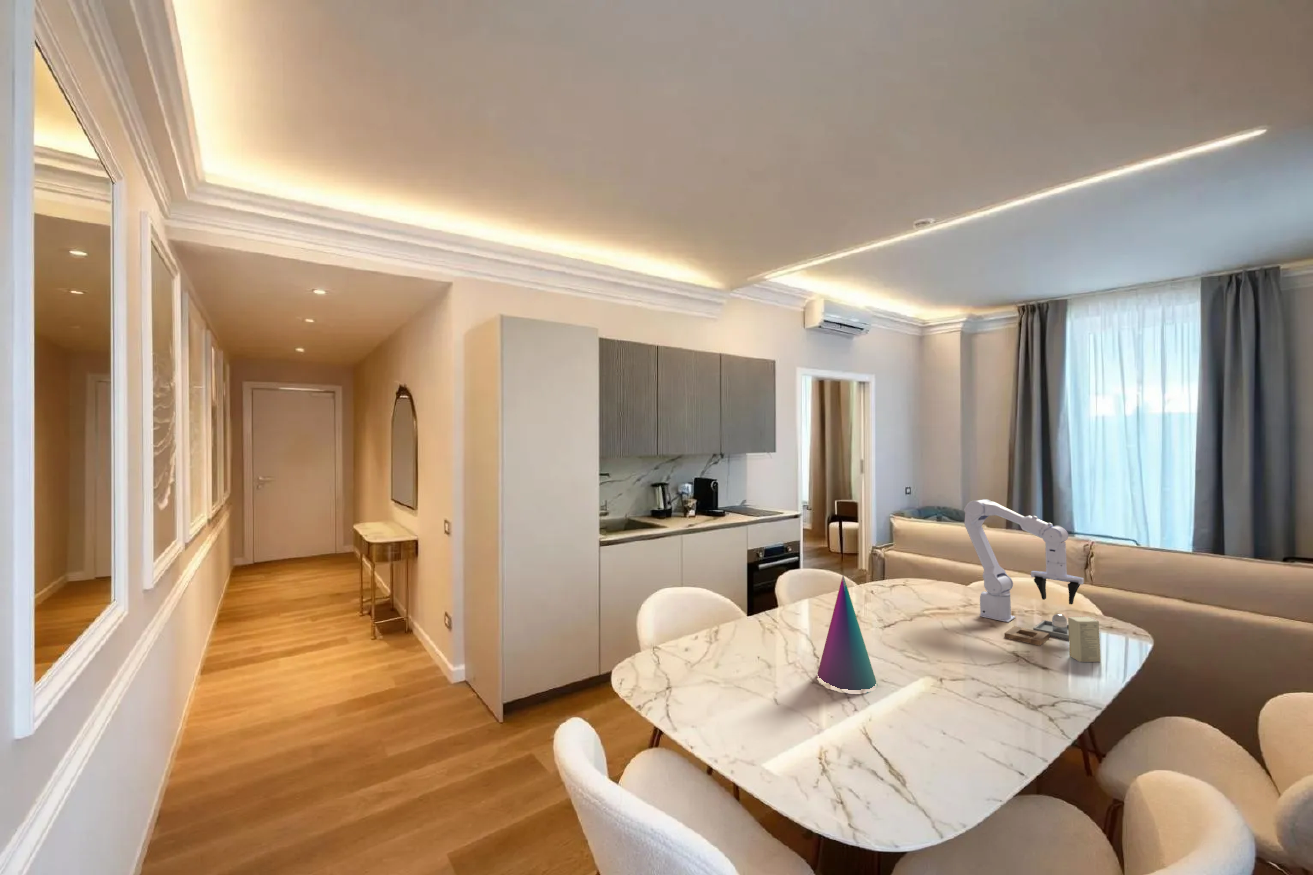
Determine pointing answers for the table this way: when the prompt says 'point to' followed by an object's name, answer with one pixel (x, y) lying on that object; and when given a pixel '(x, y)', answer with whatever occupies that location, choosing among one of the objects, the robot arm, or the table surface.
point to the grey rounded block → (1059, 623)
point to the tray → (1050, 630)
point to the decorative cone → (845, 648)
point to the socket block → (1036, 637)
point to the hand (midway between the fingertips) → (1057, 601)
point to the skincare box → (1084, 639)
